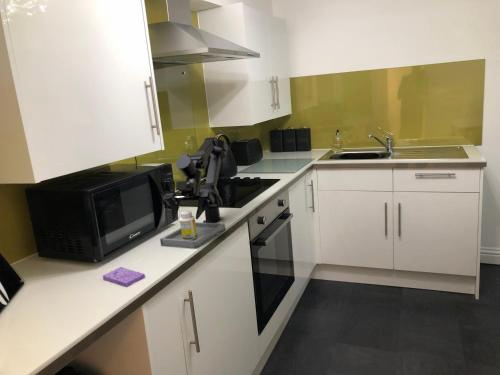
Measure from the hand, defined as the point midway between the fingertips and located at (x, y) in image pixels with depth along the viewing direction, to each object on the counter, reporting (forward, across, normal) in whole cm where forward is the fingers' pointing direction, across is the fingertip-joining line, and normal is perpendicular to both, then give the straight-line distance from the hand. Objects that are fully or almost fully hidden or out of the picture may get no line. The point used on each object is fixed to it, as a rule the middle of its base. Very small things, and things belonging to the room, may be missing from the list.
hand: (184, 219), depth 151 cm
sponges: (+28, -9, -14) cm, 32 cm away
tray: (+2, 0, +10) cm, 11 cm away
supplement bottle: (+5, 0, +7) cm, 8 cm away
